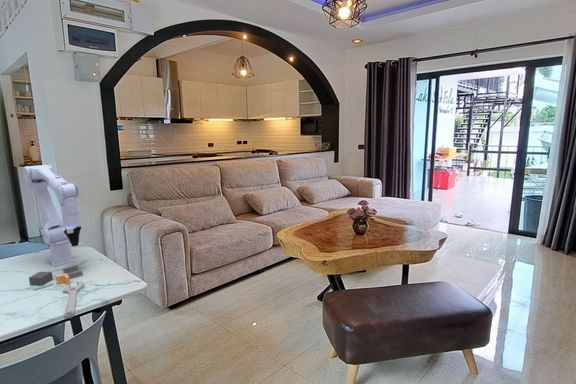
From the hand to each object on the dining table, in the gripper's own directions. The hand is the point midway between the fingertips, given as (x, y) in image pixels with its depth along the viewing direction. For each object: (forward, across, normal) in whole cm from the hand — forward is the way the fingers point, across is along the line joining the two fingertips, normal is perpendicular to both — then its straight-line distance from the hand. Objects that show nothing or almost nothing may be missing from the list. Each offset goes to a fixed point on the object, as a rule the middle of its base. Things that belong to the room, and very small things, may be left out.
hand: (75, 245), depth 138 cm
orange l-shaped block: (+10, +13, -4) cm, 17 cm away
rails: (+10, +8, -12) cm, 18 cm away
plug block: (+11, +8, -12) cm, 17 cm away
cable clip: (+10, +5, -2) cm, 12 cm away
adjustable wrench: (+12, +28, 0) cm, 31 cm away
